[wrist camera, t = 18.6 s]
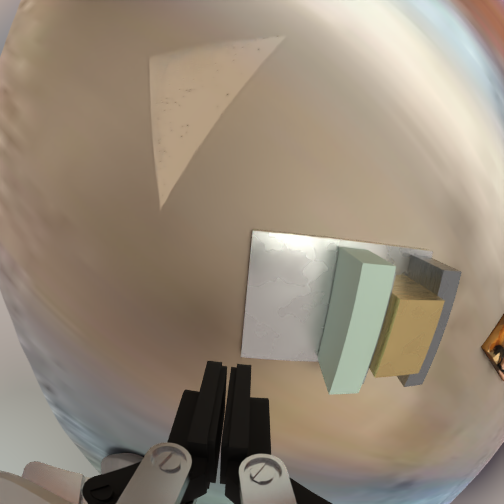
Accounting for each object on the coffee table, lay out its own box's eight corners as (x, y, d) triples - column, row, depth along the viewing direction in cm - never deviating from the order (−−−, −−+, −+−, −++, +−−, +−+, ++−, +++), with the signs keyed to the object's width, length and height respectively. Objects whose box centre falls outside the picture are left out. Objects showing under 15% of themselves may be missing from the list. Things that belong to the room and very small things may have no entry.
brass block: (351, 337, 22) (374, 377, 16) (366, 272, 21) (400, 299, 15) (389, 337, 22) (418, 373, 16) (406, 275, 21) (444, 300, 15)
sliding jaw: (317, 358, 22) (329, 394, 17) (339, 246, 20) (362, 263, 15) (346, 358, 22) (363, 392, 17) (371, 250, 20) (401, 266, 15)
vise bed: (241, 352, 23) (236, 393, 18) (252, 229, 21) (250, 242, 15) (399, 355, 23) (424, 387, 18) (428, 249, 21) (466, 265, 15)
